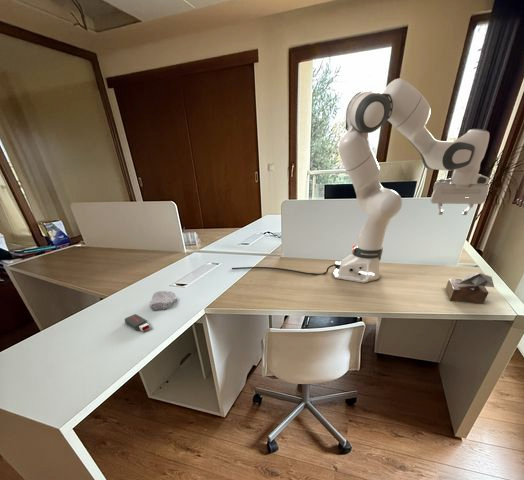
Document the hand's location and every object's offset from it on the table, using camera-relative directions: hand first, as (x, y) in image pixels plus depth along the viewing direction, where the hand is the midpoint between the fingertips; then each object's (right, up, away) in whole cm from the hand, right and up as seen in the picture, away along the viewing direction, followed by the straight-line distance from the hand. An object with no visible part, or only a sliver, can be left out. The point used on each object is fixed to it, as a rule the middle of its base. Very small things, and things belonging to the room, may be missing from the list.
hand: (451, 214), depth 125 cm
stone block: (-128, -39, +2) cm, 134 cm away
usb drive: (-133, -50, -13) cm, 143 cm away
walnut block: (+2, -37, -5) cm, 37 cm away
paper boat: (+6, -34, -9) cm, 35 cm away
